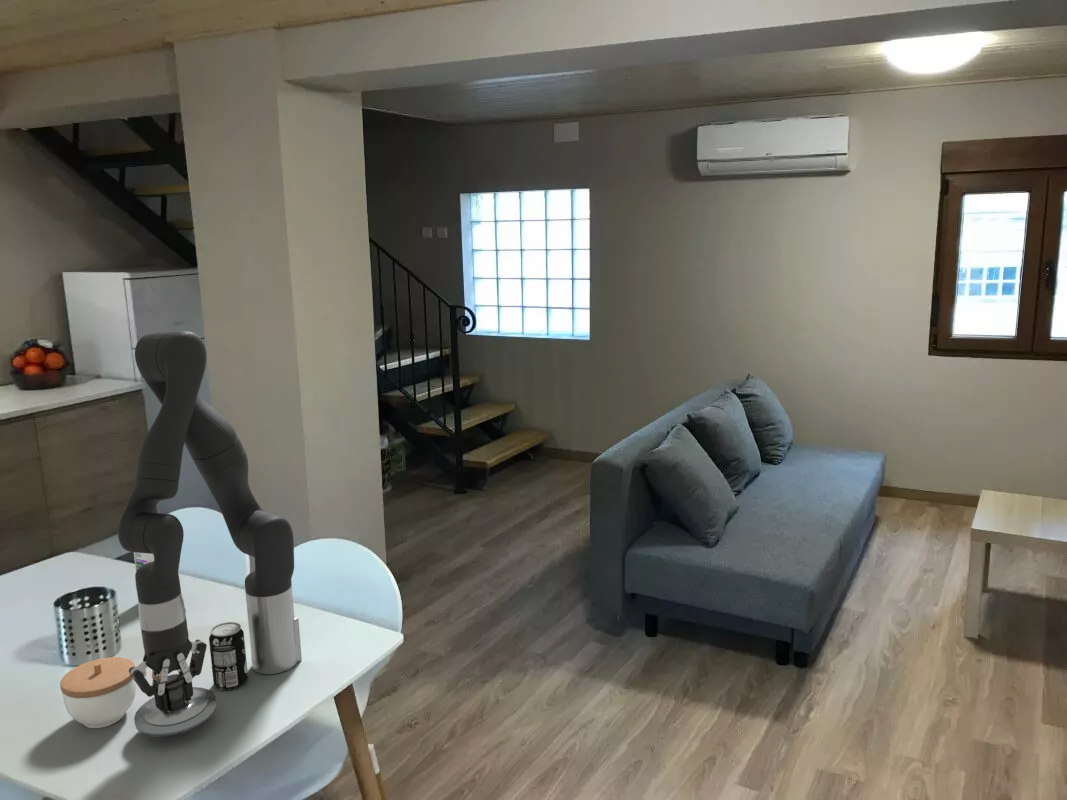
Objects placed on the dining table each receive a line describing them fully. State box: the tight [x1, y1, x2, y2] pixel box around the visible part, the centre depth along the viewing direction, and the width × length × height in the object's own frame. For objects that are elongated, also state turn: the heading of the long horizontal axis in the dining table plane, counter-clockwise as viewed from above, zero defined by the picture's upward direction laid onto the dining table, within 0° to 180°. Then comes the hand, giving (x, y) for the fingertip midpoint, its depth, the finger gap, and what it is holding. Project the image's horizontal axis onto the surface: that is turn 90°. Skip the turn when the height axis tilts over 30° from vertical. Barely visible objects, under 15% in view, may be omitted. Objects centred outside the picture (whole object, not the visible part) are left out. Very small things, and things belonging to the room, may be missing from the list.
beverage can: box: [208, 621, 249, 691], centre depth 167 cm, size 7×7×12 cm
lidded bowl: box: [59, 656, 137, 729], centre depth 156 cm, size 13×13×11 cm
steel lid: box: [133, 673, 218, 738], centre depth 152 cm, size 14×14×7 cm
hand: (175, 704), depth 152 cm, fingers closed on steel lid, 3 cm apart
